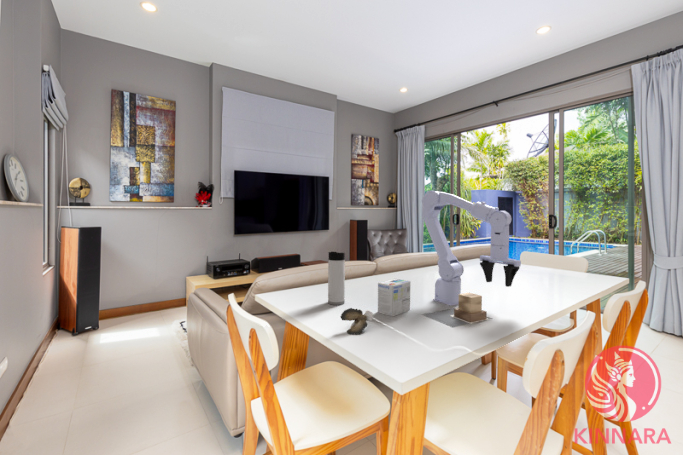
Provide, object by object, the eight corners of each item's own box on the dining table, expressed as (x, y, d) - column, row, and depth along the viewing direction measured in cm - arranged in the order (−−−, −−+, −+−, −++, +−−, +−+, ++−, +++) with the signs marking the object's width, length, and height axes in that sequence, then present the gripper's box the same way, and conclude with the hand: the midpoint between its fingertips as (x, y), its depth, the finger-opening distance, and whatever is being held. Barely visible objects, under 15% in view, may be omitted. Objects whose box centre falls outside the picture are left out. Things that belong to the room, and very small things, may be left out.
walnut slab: (454, 316, 108) (454, 308, 107) (468, 313, 111) (469, 306, 111) (471, 322, 101) (471, 314, 101) (486, 319, 105) (486, 311, 105)
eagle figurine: (349, 318, 102) (334, 321, 95) (361, 301, 101) (348, 302, 93) (366, 336, 99) (352, 340, 91) (379, 318, 97) (366, 321, 90)
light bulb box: (395, 307, 119) (395, 278, 118) (410, 311, 114) (411, 280, 114) (376, 313, 111) (377, 282, 111) (392, 318, 107) (393, 285, 106)
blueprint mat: (420, 315, 109) (421, 314, 109) (459, 308, 118) (459, 307, 118) (454, 329, 97) (454, 327, 97) (494, 320, 105) (494, 318, 105)
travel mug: (325, 304, 122) (325, 251, 121) (332, 300, 128) (332, 249, 127) (340, 306, 119) (340, 252, 118) (346, 301, 125) (347, 250, 125)
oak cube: (458, 309, 107) (458, 294, 107) (468, 307, 109) (469, 292, 109) (470, 313, 103) (471, 297, 102) (481, 311, 105) (481, 295, 105)
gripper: (474, 243, 117) (473, 281, 118) (511, 247, 105) (510, 289, 105) (487, 243, 121) (486, 279, 121) (525, 247, 108) (523, 287, 109)
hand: (498, 284), depth 114 cm, fingers open, 7 cm apart
